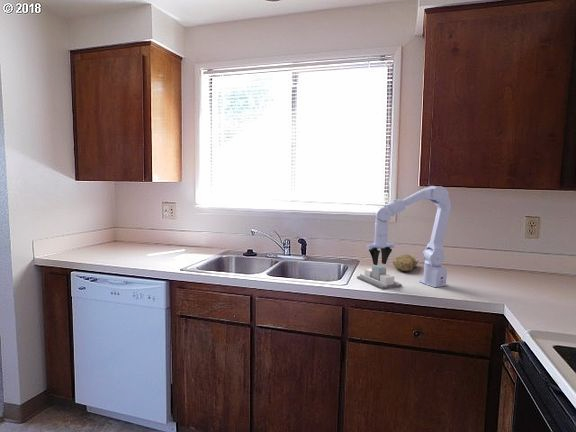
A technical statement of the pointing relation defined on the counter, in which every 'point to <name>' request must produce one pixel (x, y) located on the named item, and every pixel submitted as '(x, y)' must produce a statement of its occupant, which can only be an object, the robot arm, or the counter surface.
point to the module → (378, 272)
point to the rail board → (384, 282)
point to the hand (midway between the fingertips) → (379, 264)
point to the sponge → (405, 262)
